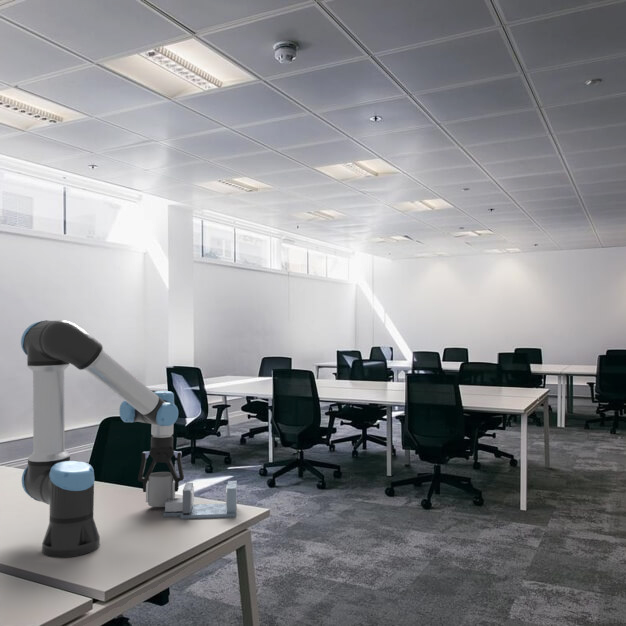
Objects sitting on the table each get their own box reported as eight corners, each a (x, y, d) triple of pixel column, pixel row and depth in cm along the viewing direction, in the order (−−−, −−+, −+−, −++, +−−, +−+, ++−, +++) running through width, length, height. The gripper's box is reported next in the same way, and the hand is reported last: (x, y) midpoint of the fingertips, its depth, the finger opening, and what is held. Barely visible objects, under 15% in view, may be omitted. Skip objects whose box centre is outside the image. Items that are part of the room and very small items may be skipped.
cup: (176, 500, 210) (176, 472, 210) (168, 507, 201) (168, 477, 202) (153, 499, 211) (153, 471, 211) (144, 506, 202) (145, 476, 203)
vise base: (235, 517, 195) (236, 489, 196) (161, 519, 193) (162, 491, 193) (236, 506, 207) (236, 480, 208) (166, 508, 205) (167, 482, 205)
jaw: (191, 513, 195) (191, 490, 195) (164, 514, 194) (164, 491, 194) (194, 504, 205) (194, 482, 205) (168, 505, 204) (168, 483, 204)
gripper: (193, 433, 212) (192, 497, 211) (133, 434, 210) (131, 498, 209) (191, 437, 205) (190, 503, 203) (129, 437, 202) (127, 504, 201)
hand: (160, 501), depth 206 cm, fingers closed on cup, 8 cm apart
